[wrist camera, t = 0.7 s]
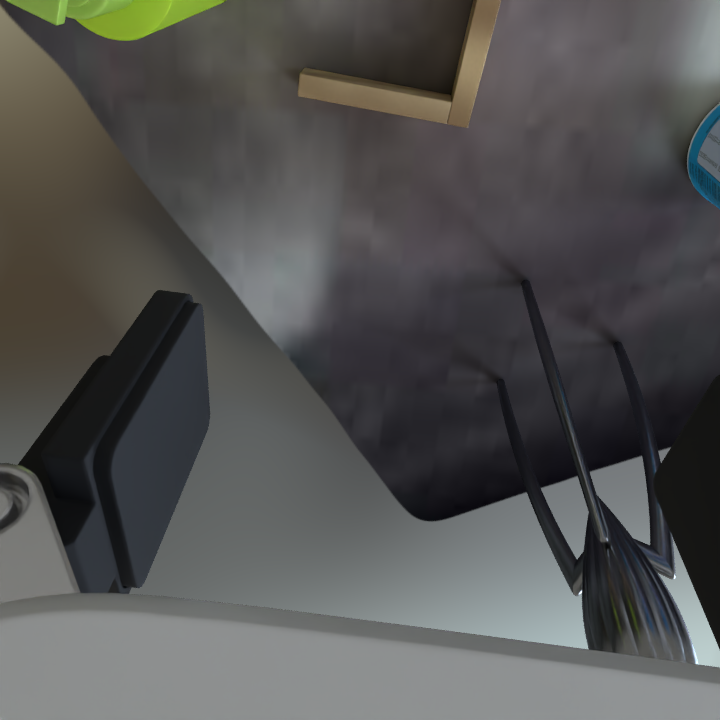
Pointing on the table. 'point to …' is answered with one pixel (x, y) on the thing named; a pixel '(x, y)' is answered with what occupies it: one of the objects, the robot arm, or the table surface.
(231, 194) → the table surface
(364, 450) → the table surface
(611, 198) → the table surface
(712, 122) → the blue labeled canister
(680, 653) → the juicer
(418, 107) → the holder
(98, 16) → the soap dispenser
